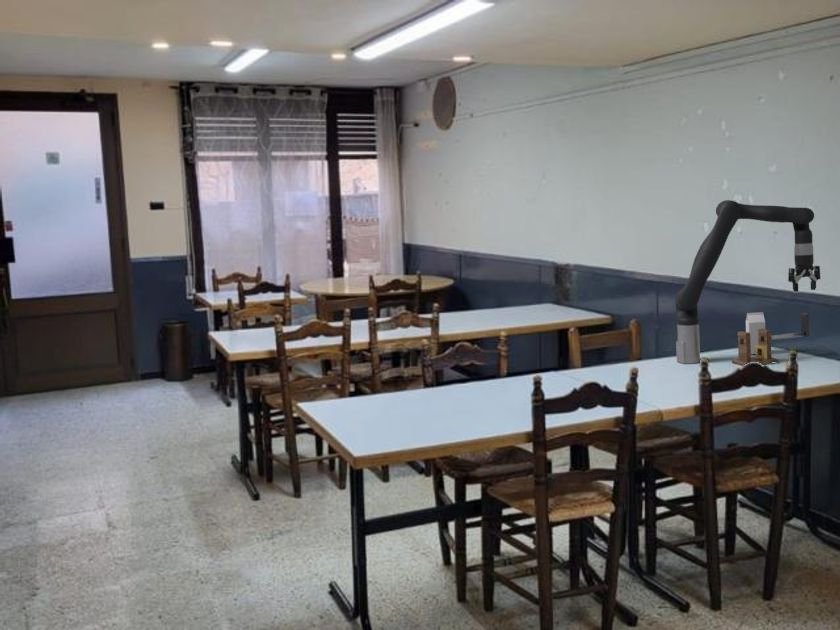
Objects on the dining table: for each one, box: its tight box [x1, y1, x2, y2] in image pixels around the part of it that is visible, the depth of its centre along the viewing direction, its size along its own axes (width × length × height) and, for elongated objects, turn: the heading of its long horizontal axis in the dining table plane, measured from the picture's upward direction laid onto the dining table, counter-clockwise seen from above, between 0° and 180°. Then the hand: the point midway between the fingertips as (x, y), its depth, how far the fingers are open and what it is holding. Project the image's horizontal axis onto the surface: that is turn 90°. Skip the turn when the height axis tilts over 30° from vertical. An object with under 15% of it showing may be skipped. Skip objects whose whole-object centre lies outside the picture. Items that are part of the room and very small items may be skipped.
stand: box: [731, 328, 780, 367], centre depth 365 cm, size 16×10×14 cm, turn 103°
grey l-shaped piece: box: [771, 312, 810, 341], centre depth 367 cm, size 21×3×10 cm, turn 103°
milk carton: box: [745, 311, 766, 354], centre depth 385 cm, size 7×7×19 cm
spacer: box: [755, 344, 767, 360], centre depth 366 cm, size 2×6×6 cm, turn 13°
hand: (804, 290), depth 367 cm, fingers open, 8 cm apart
